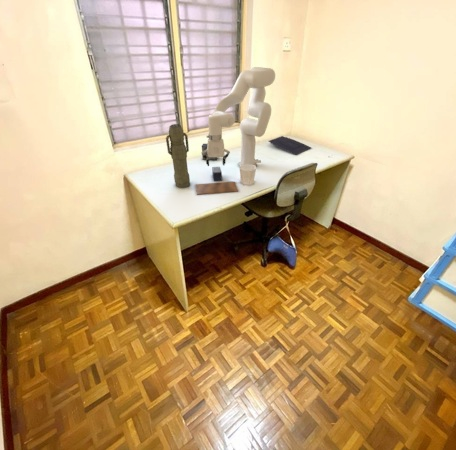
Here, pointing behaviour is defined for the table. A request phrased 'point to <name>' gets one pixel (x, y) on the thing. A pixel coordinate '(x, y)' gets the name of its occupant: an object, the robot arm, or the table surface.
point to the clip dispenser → (217, 173)
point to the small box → (206, 153)
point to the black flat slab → (289, 145)
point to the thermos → (178, 155)
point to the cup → (247, 174)
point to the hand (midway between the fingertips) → (215, 165)
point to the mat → (216, 188)
